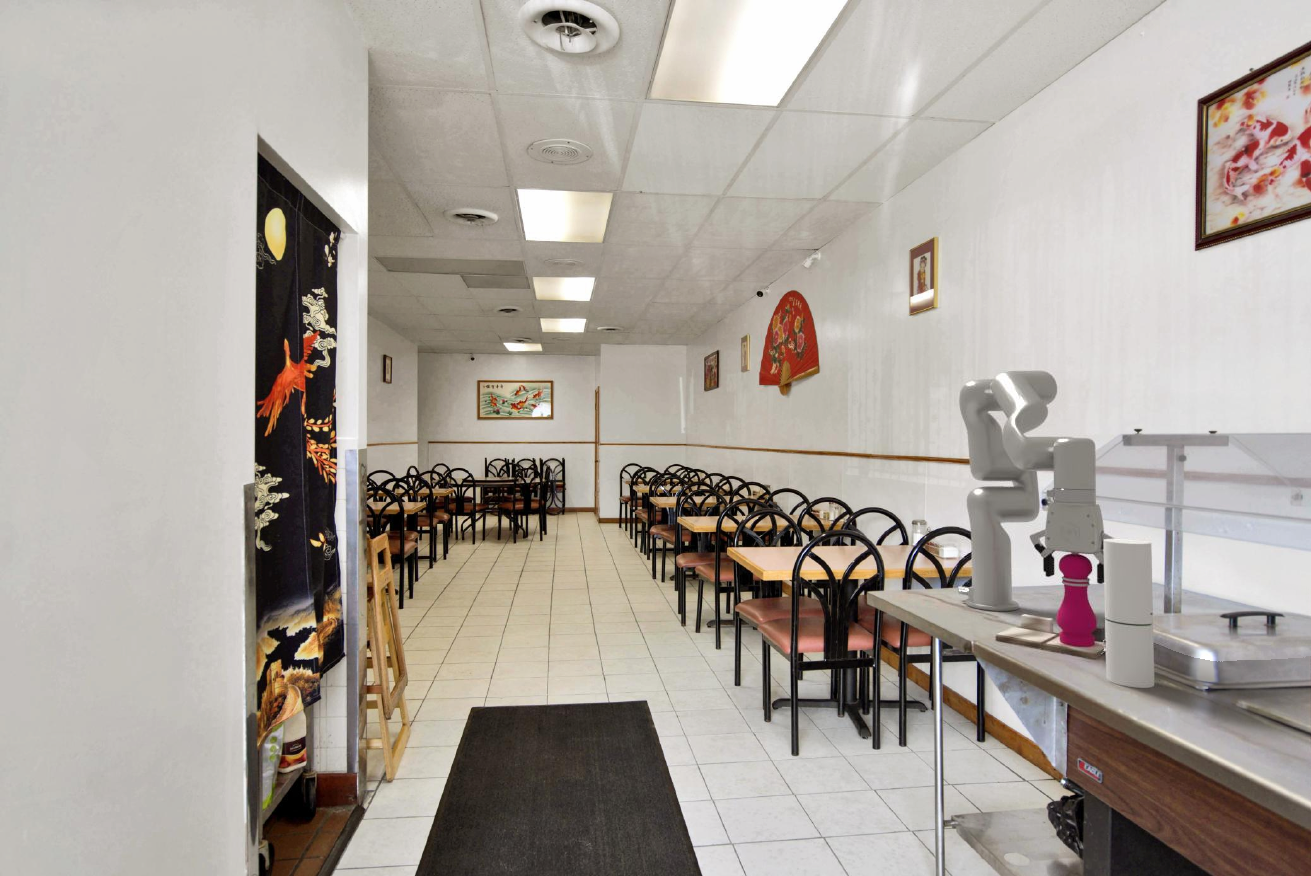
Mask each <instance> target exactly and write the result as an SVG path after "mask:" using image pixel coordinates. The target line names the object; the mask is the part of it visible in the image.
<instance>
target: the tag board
mask: <svg viewBox="0 0 1311 876" xmlns="http://www.w3.org/2000/svg"><path fill="white" fill-rule="evenodd" d="M1059 633H1060V632H1059ZM1059 633H1058V632H1054V618H1051V617H1044V616H1039V615H1038V616H1037V615H1032V614H1025V613H1024V614H1022V615H1020V626H1012V627H1009V628H1007V629H1005V630H1003V631H1001V632H998V633H996V634H995V641H996V640H998V641H997V642H1003V643H1007V644H1012V643H1014V644H1013V645H1017V644H1018V645H1017V646H1022V645H1024V647H1027V646H1028V648H1029V647H1030V648H1033V647H1034V648H1033V649H1038V648H1041V649H1040V650H1043V649H1045V650H1044V651H1048V650H1051V651H1050V652H1054V651H1055V652H1054V653H1059V652H1061V653H1060V654H1064V653H1066V654H1065V655H1069V654H1070V656H1074V655H1076V657H1081V658H1085V657H1088V658H1087V659H1090V658H1092V659H1091V660H1096V659H1097V658H1099V657H1100V656H1099V655H1101V653H1102V652H1103V650H1104V647H1105V646H1103V645H1102V644H1101V643H1102V642H1103V640H1104V639H1105V626H1101V625H1097V628H1096V629H1095V630H1094V631H1093V632H1092V633H1091V634H1092V635H1093V636H1094V637H1095V645H1094V646H1091V647H1078V646H1071V645H1067V644H1064V643H1062V642H1060V635H1059ZM1098 656H1099V657H1098ZM1101 656H1102V655H1101ZM1096 657H1097V658H1096Z"/></svg>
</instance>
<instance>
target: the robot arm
mask: <svg viewBox="0 0 1311 876" xmlns="http://www.w3.org/2000/svg"><path fill="white" fill-rule="evenodd" d="M1057 395H1058V385H1057V382H1056V379H1055V378H1054V377H1053V375H1052V374H1051V373H1049V372H1047V371H1046V370H1009V371H1005V372H1004V371H1003V372H1001V373H998V374H997V375H996V376H995V377H994V378H987V379H985V378H983V379H975V380H971V381H968V382H966V383H965V384H964V385H963V386H962V387H961V389H960V391H959V397H958V399H959V400H958V402H959V409H960V410H959V411H960V415H961V417H962V420H963V422H964V425H965V429H966V432H967V444H968V445H967V447H968V458H969V469H970V472H971V475H972V477H973V478H974V479H975V480H977V481H979V482H1011V483H1012V486H1004V485H1003V486H1002V485H1001V486H1000V485H999V486H998V485H997V486H995V485H994V486H990V485H989V486H988V485H987V486H981V487H980V486H979V487H975V488H973V489H971V490H970V491H969V492H968V494H967V497H966V508H967V513H968V518H969V524H970V526H969V527H970V540H971V541H970V543H971V586H969V587H967V586H962V585H959V586H958V588H957V592H958V594H959V595H966V596H968V598H966V600H965V604H966V605H967V606H969V607H971V608H974V609H978V610H984V611H995V612H996V611H997V612H1005V611H1006V612H1007V611H1008V612H1009V611H1011V612H1012V611H1015V610H1018V609H1019V608H1020V605H1019V602H1017V601H1015V600H1013V582H1012V581H1013V579H1012V541H1011V537H1010V535H1009V533H1008V532H1007V531H1006V530H1005V528H1003V526H1002V524H1004V523H1030V522H1033V521H1035V520H1036V519H1037V518H1038V516H1039V514H1040V508H1041V506H1040V492H1039V491H1040V489H1039V480H1038V472H1046V471H1047V472H1050V471H1051V472H1053V487H1052V489H1050V490H1049V489H1047V490H1046V496H1047V497H1050V498H1052V501H1053V502H1049V503H1048V508H1047V512H1046V522H1045V529H1043V530H1040V531H1038V532H1035V533H1033V534H1032V533H1031V534H1030V535H1029V539H1030V541H1031V543H1032V545H1033V546H1034V547H1033V548H1034V549H1035V550H1036V551H1037V552H1038V553H1039V554H1040V556H1041V558H1042V561H1043V562H1042V563H1043V564H1042V565H1043V567H1042V569H1043V572H1044V573H1045V577H1046V578H1050V577H1052V576H1055V557H1054V555H1053V554H1054V553H1055V552H1065V553H1071V552H1072V553H1079V554H1080V555H1083V554H1084V555H1093V556H1094V557H1095V558H1096V560H1097V561H1098V563H1097V565H1096V577H1097V578H1096V582H1097V584H1098V585H1099V584H1100V585H1102V584H1104V542H1103V540H1104V539H1116V538H1114V537H1113V536H1111V535H1109V534H1107V533H1105V527H1104V520H1103V515H1102V510H1101V507H1100V506H1101V505H1100V504H1099V503H1098V504H1097V496H1096V495H1097V493H1096V492H1097V491H1096V489H1097V488H1096V487H1097V486H1096V481H1097V477H1096V475H1097V474H1096V473H1097V469H1096V455H1097V454H1096V443H1095V441H1094V440H1093V439H1092V438H1089V437H1088V438H1087V437H1072V436H1026V435H1025V434H1026V433H1028V432H1030V431H1033V430H1035V429H1037V428H1038V427H1040V426H1042V425H1043V423H1044V422H1045V421H1046V419H1047V417H1048V414H1049V409H1048V406H1047V405H1050V404H1051V403H1052V402H1054V400H1055V399H1056V397H1057ZM989 412H1003V413H1004V414H1005V417H1006V419H1007V420H1006V422H1005V423H1004V424H1003V425H1004V426H1003V428H1002V427H1001V425H1000V423H999V422H998V421H997V419H996V418H995V417H994V416H993V415H992V414H991V413H989ZM1041 538H1044V544H1045V546H1044V544H1042V542H1041V540H1040V539H1041ZM1072 553H1071V554H1072Z"/></svg>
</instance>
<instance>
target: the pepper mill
mask: <svg viewBox="0 0 1311 876" xmlns="http://www.w3.org/2000/svg"><path fill="white" fill-rule="evenodd" d="M1058 569H1059V572H1061V573H1062V575H1063V576H1062V577H1061V580H1062V581H1061V583H1062V584H1063V585H1064V595H1063V600H1062V602H1061V604H1060V607H1059V608H1058V610H1057V615H1056V624H1057V625H1058V628H1060V629H1061V631H1060V632H1059V635H1060V642H1062V643H1064V644H1067V645H1071V646H1078V647H1091V646H1094V645H1095V637H1094V636H1093V635H1092V634H1091V633H1092V632H1093V631H1094V630H1095V629H1096V628H1097V626H1098V621H1097V618H1096V614H1095V612H1094V610H1093V608H1092V605H1091V604H1090V601H1089V593H1088V587H1089V586H1090V581H1091V579H1090V578H1089V576H1090V575H1091V574H1092V572H1093V563H1092V561H1091V560H1090V558H1088V557H1087V556H1085V555H1083V554H1081V553H1072V552H1070V553H1068V554H1065V555H1063V556H1062V557H1061V558H1060V559H1059V562H1058Z"/></svg>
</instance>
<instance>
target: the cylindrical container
mask: <svg viewBox="0 0 1311 876" xmlns="http://www.w3.org/2000/svg"><path fill="white" fill-rule="evenodd" d="M1103 542H1104V550H1103V551H1104V583H1103V584H1104V587H1103V589H1104V591H1103V592H1104V622H1105V623H1104V627H1105V641H1106V652H1105V676H1106V679H1107V681H1109V682H1110V683H1113V684H1116V685H1119V686H1123V687H1129V688H1136V689H1137V688H1138V689H1148V688H1153V687H1154V686H1155V655H1154V654H1155V652H1154V649H1155V648H1154V647H1155V646H1154V606H1153V605H1154V604H1153V603H1154V602H1153V600H1154V599H1153V564H1152V563H1153V562H1152V559H1153V556H1152V554H1153V553H1152V542H1151V541H1150V540H1149V541H1148V540H1144V539H1143V540H1142V539H1130V538H1115V539H1104V540H1103Z"/></svg>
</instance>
